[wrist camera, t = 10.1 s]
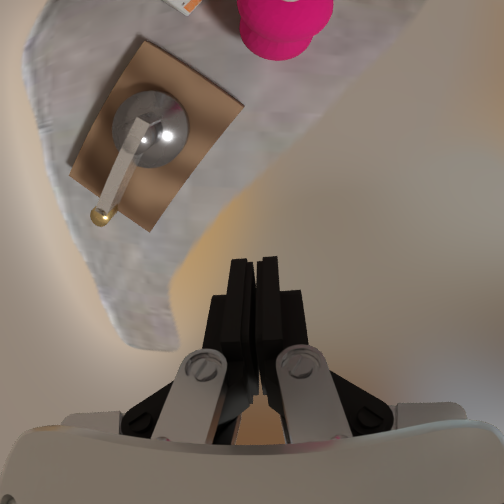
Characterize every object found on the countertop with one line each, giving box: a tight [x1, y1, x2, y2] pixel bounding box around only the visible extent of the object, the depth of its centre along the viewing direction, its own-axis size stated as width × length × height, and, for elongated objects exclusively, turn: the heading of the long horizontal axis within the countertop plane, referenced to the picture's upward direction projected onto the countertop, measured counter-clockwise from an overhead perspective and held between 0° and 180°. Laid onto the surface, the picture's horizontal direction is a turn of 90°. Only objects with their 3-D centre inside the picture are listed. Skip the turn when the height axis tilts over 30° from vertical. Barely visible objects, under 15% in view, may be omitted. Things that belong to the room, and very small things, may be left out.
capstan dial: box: [90, 90, 190, 227], centre depth 31 cm, size 16×9×5 cm, turn 146°
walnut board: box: [69, 41, 244, 232], centre depth 34 cm, size 20×14×2 cm
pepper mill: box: [237, 0, 333, 61], centre depth 19 cm, size 7×7×20 cm
